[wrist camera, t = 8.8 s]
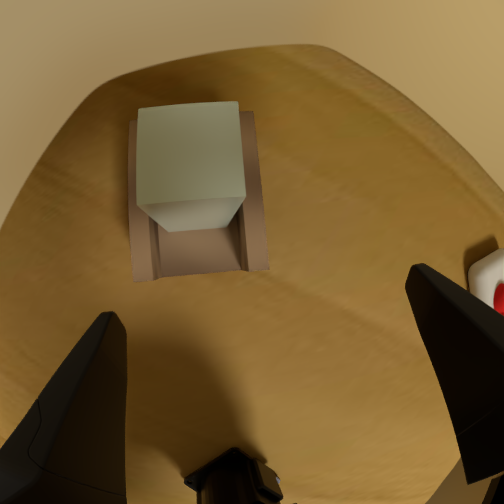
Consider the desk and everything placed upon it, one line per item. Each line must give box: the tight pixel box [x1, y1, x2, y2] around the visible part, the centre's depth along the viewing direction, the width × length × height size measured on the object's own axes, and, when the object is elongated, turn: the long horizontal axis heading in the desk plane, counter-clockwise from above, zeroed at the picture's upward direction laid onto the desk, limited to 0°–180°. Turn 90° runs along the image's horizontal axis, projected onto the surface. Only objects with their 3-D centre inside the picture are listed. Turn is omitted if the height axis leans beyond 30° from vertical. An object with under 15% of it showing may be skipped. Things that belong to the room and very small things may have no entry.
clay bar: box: [136, 101, 246, 232], centre depth 15 cm, size 4×4×10 cm
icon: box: [468, 248, 504, 316], centre depth 25 cm, size 12×4×10 cm
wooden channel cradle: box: [128, 111, 269, 282], centre depth 19 cm, size 10×8×5 cm
